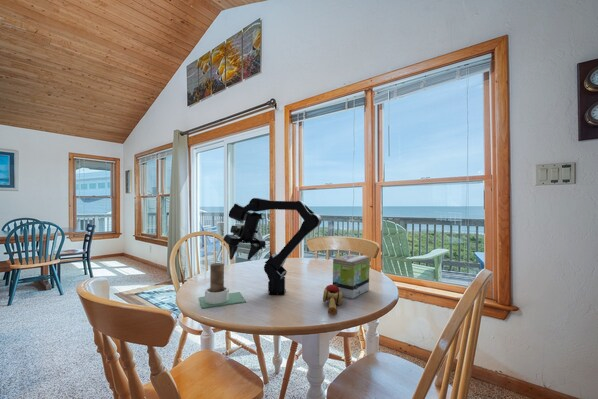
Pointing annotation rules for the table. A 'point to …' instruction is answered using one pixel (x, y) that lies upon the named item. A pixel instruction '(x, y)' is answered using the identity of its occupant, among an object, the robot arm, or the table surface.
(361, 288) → the tea box
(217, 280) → the walnut peg
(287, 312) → the table surface
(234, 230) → the robot arm
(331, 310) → the kendama
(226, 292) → the putting mat
